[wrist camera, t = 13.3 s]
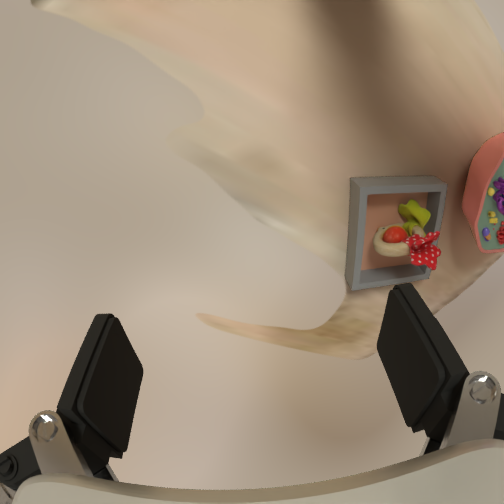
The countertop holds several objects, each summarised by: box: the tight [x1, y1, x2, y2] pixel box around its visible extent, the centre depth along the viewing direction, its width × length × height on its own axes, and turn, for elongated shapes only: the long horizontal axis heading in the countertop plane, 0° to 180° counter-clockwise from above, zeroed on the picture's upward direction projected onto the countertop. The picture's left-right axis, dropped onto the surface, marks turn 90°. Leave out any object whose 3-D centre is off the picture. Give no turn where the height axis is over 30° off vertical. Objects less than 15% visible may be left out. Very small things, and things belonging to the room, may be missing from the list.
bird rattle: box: [373, 199, 441, 270], centre depth 36 cm, size 6×11×9 cm
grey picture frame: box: [345, 176, 448, 291], centre depth 39 cm, size 15×13×4 cm
